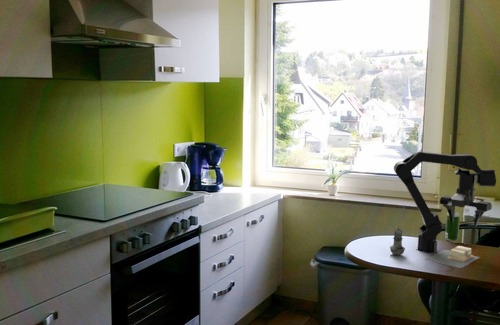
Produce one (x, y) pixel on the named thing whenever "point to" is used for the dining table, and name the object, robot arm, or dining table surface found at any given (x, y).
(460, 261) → the mat
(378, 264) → the dining table surface
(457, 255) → the cream block
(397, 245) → the grey tower figurine
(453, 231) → the beer can
